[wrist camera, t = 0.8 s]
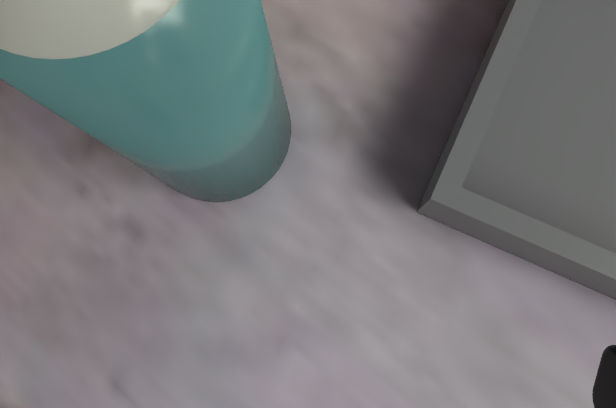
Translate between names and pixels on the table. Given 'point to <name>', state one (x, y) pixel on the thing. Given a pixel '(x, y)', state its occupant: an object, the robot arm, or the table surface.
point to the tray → (539, 142)
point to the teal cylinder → (158, 84)
